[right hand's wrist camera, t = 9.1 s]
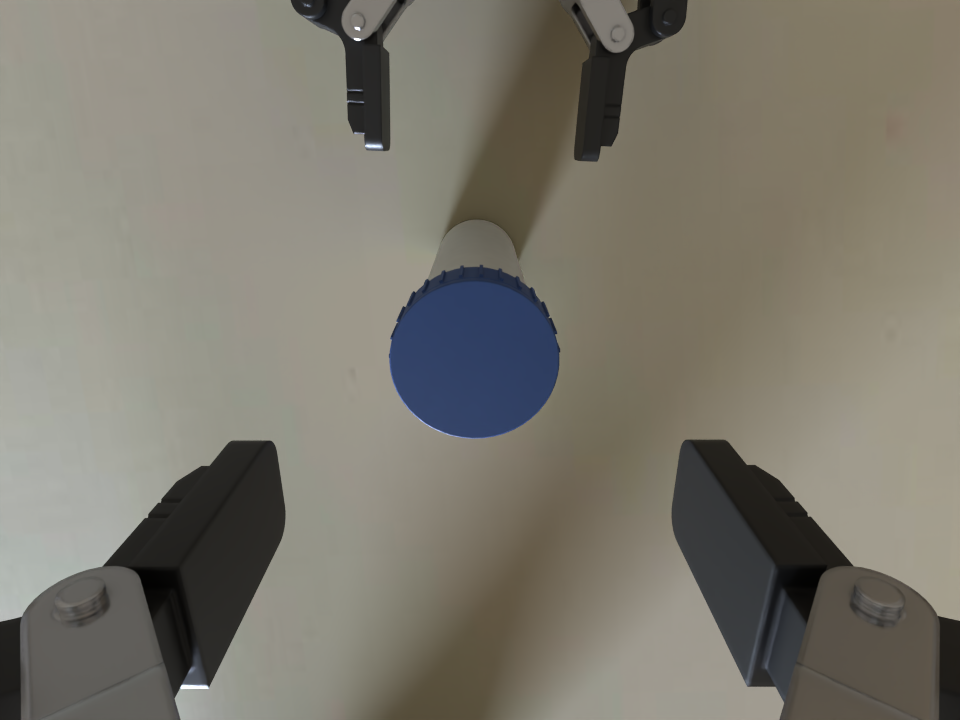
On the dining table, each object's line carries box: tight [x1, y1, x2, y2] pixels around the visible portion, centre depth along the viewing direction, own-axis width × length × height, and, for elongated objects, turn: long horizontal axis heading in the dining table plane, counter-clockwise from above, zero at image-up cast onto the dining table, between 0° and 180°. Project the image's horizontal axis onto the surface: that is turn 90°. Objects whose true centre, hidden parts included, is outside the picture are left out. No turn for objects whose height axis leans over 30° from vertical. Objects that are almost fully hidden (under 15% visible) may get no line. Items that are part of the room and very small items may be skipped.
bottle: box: [428, 219, 526, 285], centre depth 25 cm, size 4×4×15 cm
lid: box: [389, 265, 560, 438], centre depth 18 cm, size 5×5×2 cm
